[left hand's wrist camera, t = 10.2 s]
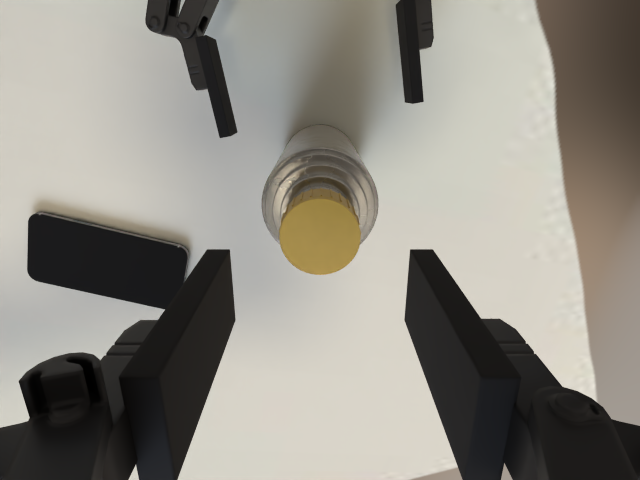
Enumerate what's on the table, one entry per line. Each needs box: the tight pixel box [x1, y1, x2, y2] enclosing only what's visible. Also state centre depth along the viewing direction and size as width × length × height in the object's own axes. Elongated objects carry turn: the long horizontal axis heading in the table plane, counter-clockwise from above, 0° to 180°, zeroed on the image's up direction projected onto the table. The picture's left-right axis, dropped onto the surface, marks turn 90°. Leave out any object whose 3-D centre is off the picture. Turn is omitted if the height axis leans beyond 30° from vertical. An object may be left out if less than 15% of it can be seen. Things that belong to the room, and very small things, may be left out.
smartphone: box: [27, 212, 189, 309], centre depth 41 cm, size 7×1×15 cm
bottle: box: [262, 125, 378, 244], centre depth 29 cm, size 7×7×20 cm
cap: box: [279, 188, 361, 275], centre depth 20 cm, size 4×4×2 cm
